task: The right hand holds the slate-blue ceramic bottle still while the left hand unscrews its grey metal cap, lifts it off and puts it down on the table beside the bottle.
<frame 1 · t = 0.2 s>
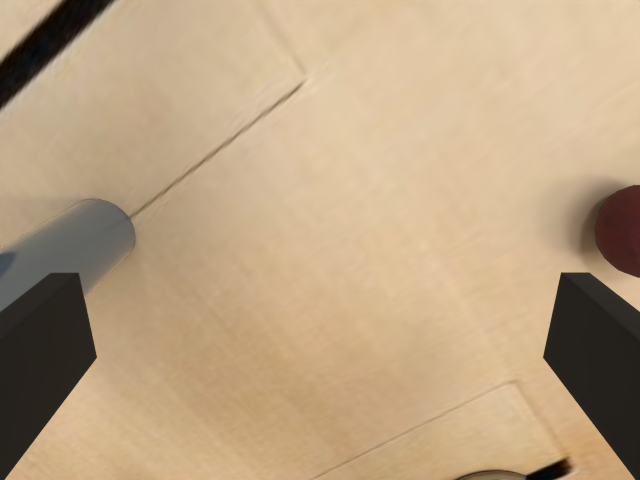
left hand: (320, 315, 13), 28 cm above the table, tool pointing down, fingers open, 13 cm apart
dark maroon ball: (618, 216, 41), on the table
bottle: (100, 232, 42), on the table
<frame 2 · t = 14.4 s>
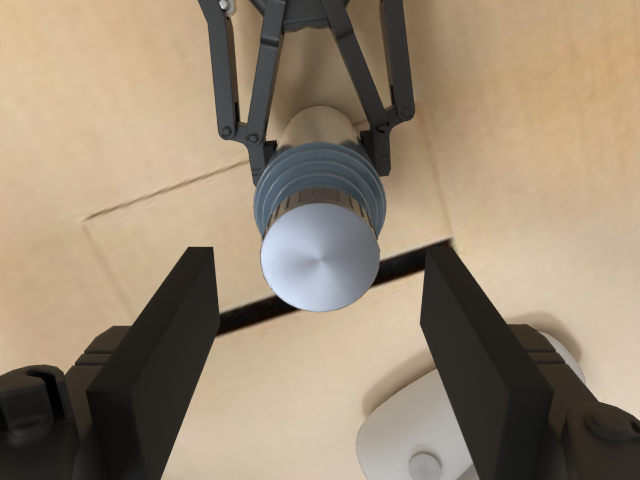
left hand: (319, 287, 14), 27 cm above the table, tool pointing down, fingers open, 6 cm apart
right hand: (326, 221, 36), fingers closed on bottle, 6 cm apart
projector: (464, 400, 50), on the table
bottle: (319, 143, 40), on the table, touching right hand
cap: (319, 256, 16), point 25 cm above the table, screwed on, not yet turned
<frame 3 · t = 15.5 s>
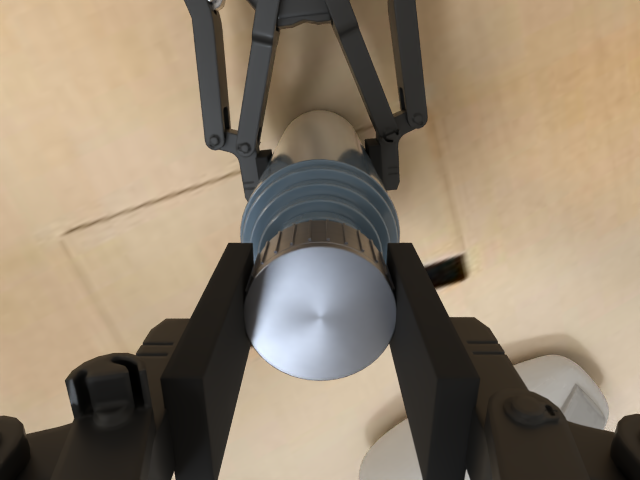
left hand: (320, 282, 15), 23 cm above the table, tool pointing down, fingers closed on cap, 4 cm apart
right hand: (327, 239, 32), fingers closed on bottle, 6 cm apart
projector: (476, 427, 46), on the table
bottle: (320, 151, 36), on the table, touching right hand
cap: (320, 312, 13), point 25 cm above the table, screwed on, not yet turned, touching left hand
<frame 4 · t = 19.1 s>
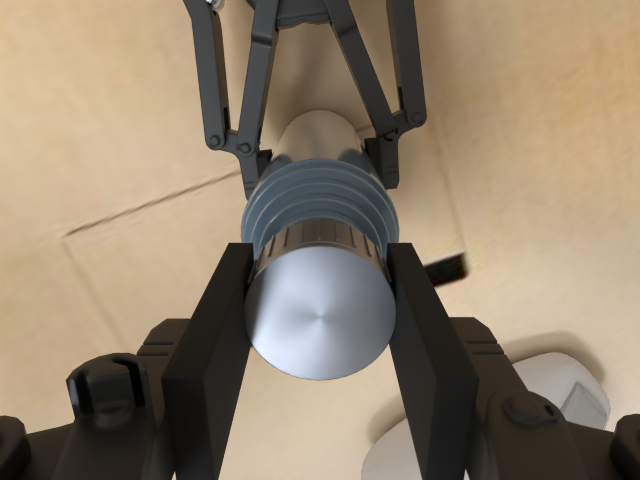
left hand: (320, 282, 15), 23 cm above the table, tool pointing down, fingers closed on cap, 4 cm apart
right hand: (328, 239, 32), fingers closed on bottle, 6 cm apart
projector: (477, 425, 46), on the table
bottle: (320, 151, 36), on the table, touching right hand
cap: (320, 311, 13), point 25 cm above the table, turned 113° so far, risen 0.1 cm, still on its thread, touching left hand
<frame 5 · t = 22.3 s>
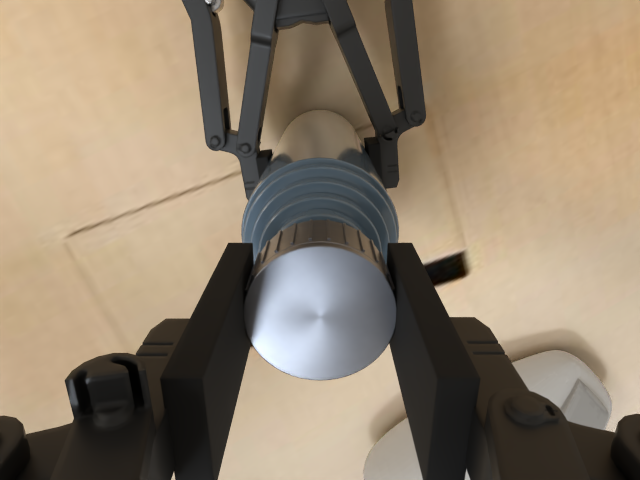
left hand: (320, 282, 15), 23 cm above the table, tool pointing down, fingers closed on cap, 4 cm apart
right hand: (328, 238, 32), fingers closed on bottle, 6 cm apart
projector: (479, 423, 46), on the table
bottle: (320, 151, 36), on the table, touching right hand
cap: (320, 311, 13), point 25 cm above the table, turned 225° so far, risen 0.3 cm, still on its thread, touching left hand
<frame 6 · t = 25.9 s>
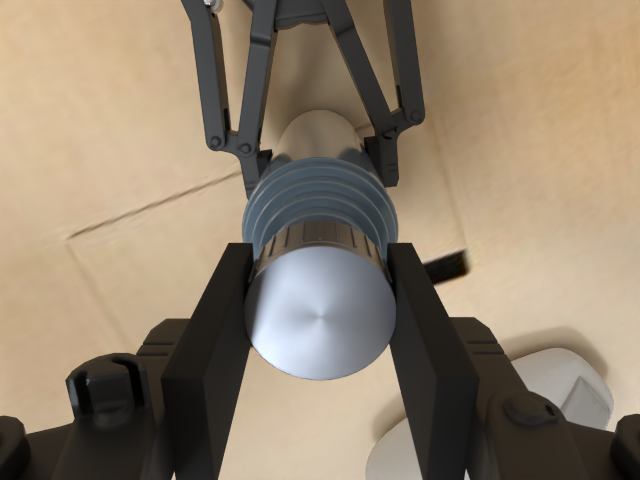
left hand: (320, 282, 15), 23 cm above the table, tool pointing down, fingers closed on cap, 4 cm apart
right hand: (329, 237, 32), fingers closed on bottle, 6 cm apart
projector: (481, 421, 46), on the table
bottle: (320, 150, 36), on the table, touching right hand
cap: (320, 311, 13), point 25 cm above the table, turned 338° so far, risen 0.4 cm, still on its thread, touching left hand
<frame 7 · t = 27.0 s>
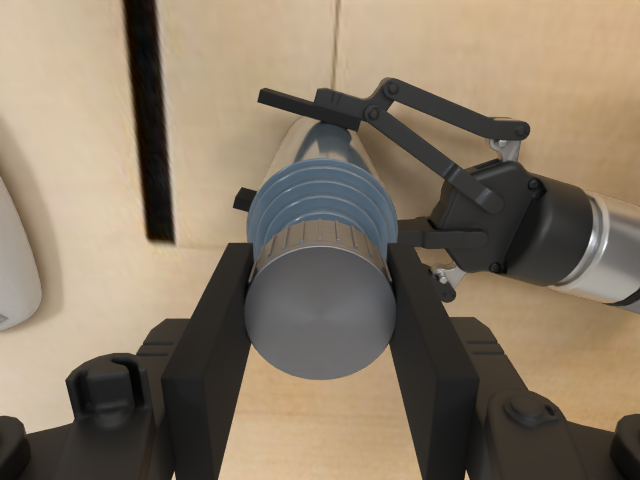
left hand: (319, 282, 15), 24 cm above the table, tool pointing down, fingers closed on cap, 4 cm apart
right hand: (249, 148, 31), fingers closed on bottle, 6 cm apart
bottle: (321, 152, 37), on the table, touching right hand
cap: (320, 311, 13), point 26 cm above the table, off its thread, touching left hand
when the left hand's fingers open (1 cm above the table, at t = 34.8 s): cap drops 1 cm, point 2 cm above the table.
when the right hand's fingers open (6 cm above the table, at t = 36.0 s): bottle stays where it is, on the table.
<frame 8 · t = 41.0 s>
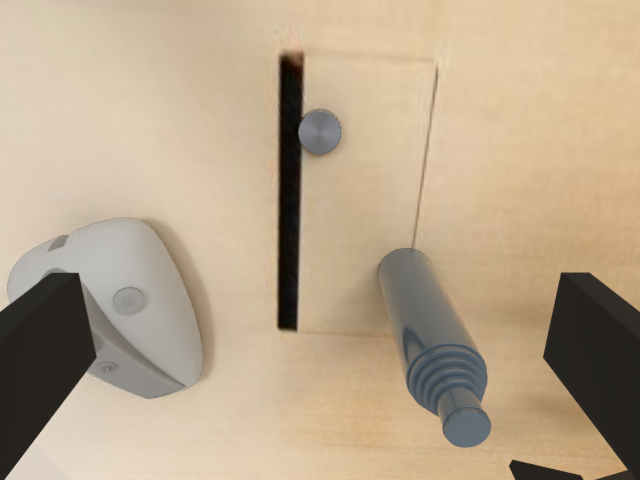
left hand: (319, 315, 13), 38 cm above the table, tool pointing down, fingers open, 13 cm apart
projector: (140, 303, 55), on the table
bottle: (404, 272, 54), on the table
cap: (319, 132, 46), point 2 cm above the table, off its thread
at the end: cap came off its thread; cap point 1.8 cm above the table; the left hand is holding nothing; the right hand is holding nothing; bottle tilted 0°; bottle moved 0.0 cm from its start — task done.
